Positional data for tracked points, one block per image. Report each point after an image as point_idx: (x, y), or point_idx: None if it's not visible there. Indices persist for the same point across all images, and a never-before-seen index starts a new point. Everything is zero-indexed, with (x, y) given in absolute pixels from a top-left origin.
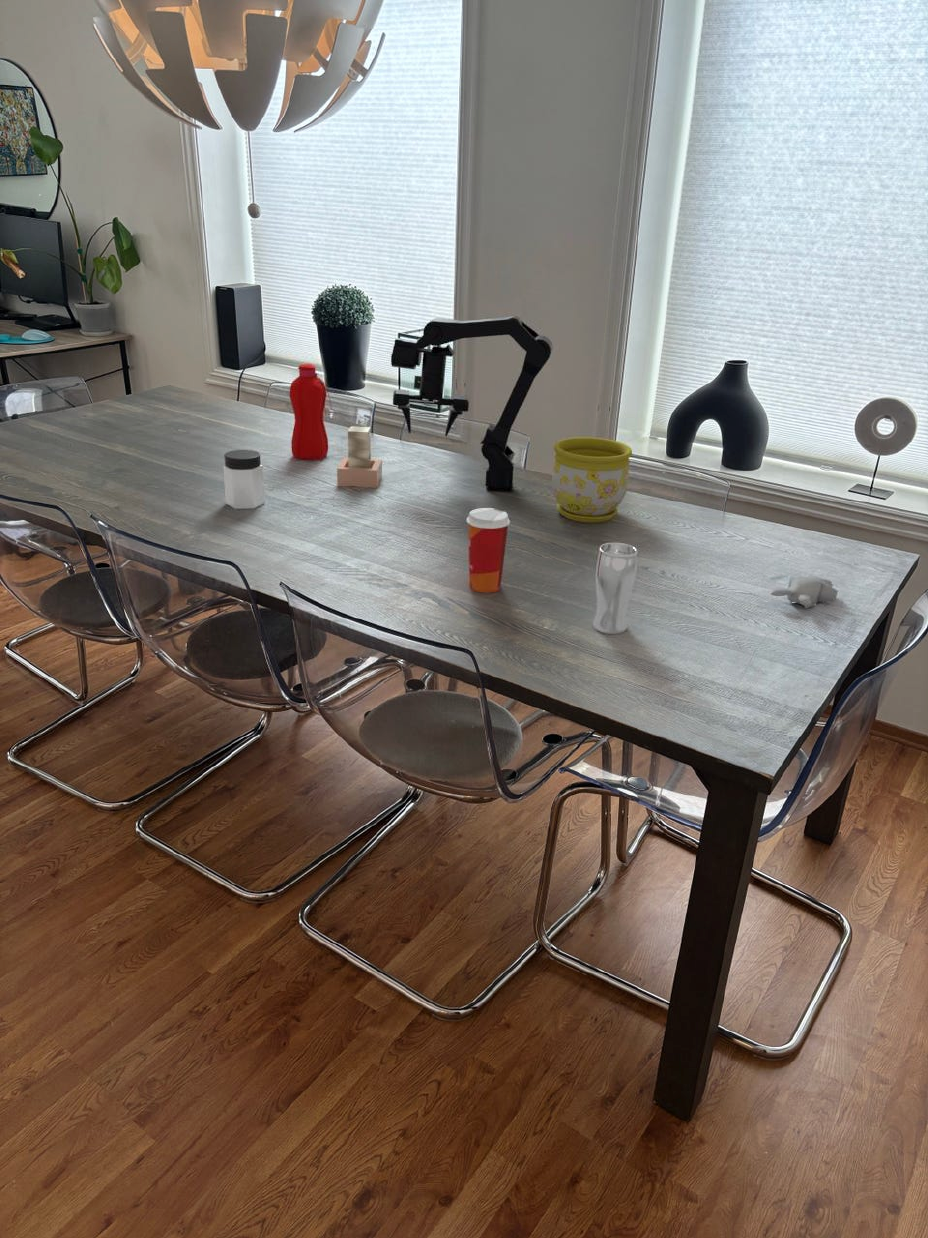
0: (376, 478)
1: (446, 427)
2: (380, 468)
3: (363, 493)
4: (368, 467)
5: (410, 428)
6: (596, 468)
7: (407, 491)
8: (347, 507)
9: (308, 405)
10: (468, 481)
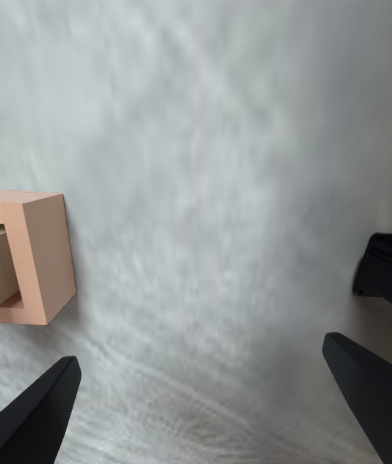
0: (61, 308)
1: (375, 423)
2: (45, 236)
3: (57, 328)
4: (9, 288)
5: (64, 429)
6: None
7: (154, 308)
8: None
9: None
10: (320, 216)
